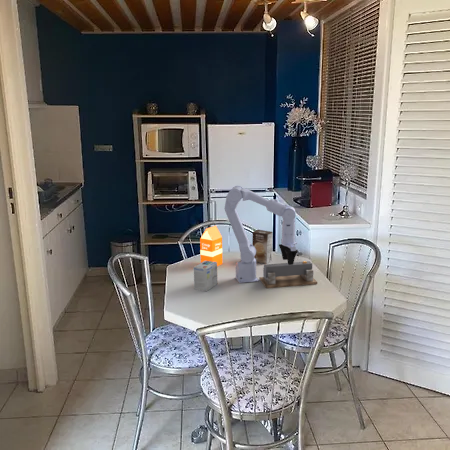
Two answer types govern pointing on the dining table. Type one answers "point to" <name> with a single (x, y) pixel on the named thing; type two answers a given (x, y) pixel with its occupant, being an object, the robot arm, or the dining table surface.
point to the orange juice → (211, 245)
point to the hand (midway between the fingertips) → (287, 262)
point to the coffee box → (263, 246)
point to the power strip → (287, 269)
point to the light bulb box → (205, 275)
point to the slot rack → (288, 280)
